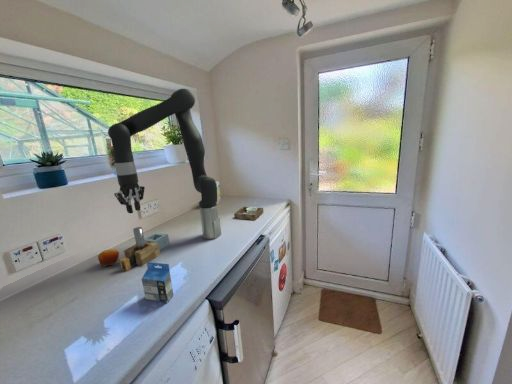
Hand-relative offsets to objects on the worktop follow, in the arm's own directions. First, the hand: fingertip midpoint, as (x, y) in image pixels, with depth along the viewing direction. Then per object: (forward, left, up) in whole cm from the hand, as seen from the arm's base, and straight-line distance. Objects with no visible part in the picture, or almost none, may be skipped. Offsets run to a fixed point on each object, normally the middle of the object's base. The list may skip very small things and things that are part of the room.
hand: (134, 211), depth 101 cm
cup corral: (-26, -65, -23) cm, 74 cm away
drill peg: (0, 0, -23) cm, 23 cm away
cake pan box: (+12, -82, -23) cm, 86 cm away
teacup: (-27, -67, -24) cm, 76 cm away
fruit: (+12, +8, -23) cm, 27 cm away
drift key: (0, +6, -23) cm, 24 cm away
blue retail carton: (-28, +19, -23) cm, 41 cm away
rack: (+3, -11, -23) cm, 26 cm away
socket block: (0, 0, -23) cm, 23 cm away
